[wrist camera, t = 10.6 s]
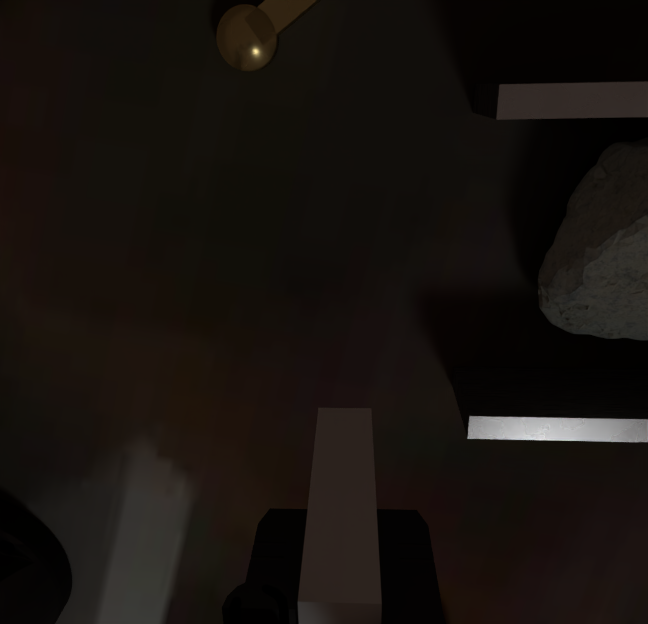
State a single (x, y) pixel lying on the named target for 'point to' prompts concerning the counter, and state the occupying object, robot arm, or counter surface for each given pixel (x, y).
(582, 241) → the decorative stone
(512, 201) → the counter surface
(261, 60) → the wooden spoon
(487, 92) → the gray open-sided box
